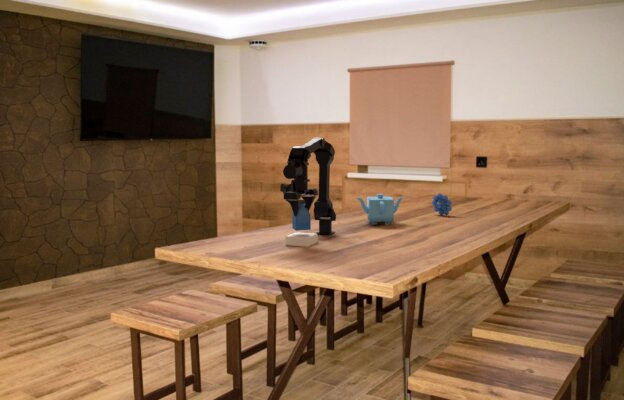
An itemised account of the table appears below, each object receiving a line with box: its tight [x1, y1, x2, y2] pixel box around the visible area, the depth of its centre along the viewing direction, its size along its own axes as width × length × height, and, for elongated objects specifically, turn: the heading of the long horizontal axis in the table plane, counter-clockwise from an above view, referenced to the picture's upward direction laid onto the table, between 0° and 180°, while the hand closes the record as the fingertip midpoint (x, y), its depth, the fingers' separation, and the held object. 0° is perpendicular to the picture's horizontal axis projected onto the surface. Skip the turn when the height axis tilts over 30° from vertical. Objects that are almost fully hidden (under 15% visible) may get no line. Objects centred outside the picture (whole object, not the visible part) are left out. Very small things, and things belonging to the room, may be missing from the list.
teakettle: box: [355, 193, 406, 226], centre depth 299 cm, size 19×19×15 cm
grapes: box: [431, 192, 453, 216], centre depth 322 cm, size 12×7×12 cm, turn 52°
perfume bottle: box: [291, 199, 312, 232], centre depth 247 cm, size 6×6×12 cm
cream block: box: [284, 231, 318, 248], centre depth 248 cm, size 10×10×4 cm
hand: (301, 214), depth 247 cm, fingers closed on perfume bottle, 9 cm apart
